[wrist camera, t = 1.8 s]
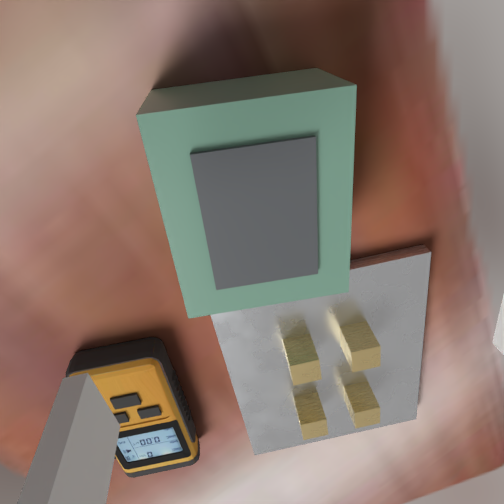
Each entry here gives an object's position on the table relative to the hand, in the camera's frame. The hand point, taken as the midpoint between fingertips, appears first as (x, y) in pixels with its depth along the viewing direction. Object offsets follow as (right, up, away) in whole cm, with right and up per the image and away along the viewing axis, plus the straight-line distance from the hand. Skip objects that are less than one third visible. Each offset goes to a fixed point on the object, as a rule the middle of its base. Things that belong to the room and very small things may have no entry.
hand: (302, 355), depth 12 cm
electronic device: (-12, -11, +25) cm, 30 cm away
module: (-2, +9, +14) cm, 17 cm away
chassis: (+5, -7, +25) cm, 26 cm away
